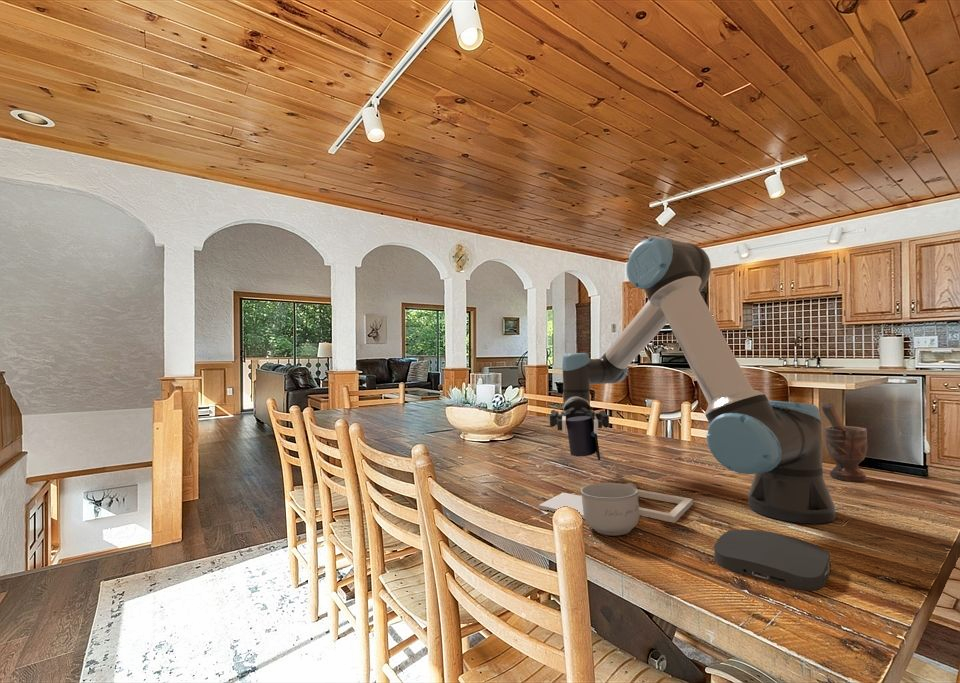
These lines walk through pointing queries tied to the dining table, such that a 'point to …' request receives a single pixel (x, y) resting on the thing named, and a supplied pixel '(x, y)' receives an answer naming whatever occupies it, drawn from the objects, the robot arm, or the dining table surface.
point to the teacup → (611, 507)
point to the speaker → (582, 436)
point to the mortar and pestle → (845, 446)
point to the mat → (564, 502)
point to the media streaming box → (774, 558)
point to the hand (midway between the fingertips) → (580, 426)
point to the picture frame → (677, 511)
